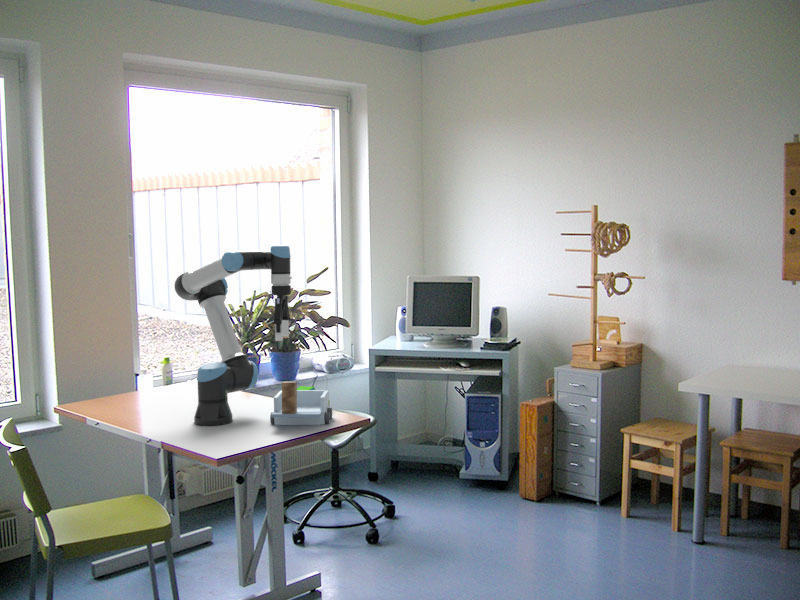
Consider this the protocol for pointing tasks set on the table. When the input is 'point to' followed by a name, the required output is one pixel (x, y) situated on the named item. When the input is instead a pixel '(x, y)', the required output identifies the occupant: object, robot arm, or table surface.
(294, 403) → the brown wooden block
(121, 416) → the table surface
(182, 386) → the table surface
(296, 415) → the tailgate
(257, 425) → the table surface
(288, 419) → the truck bed
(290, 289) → the robot arm
